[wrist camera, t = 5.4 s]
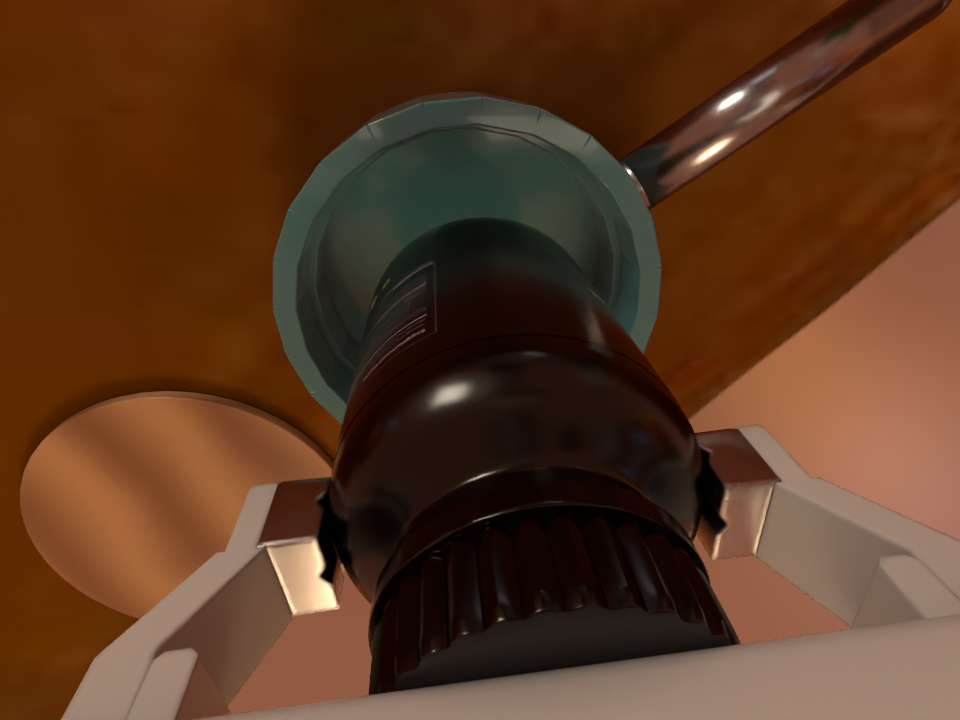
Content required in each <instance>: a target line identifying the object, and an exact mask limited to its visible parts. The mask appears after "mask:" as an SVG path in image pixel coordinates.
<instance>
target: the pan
mask: <svg viewBox="0 0 960 720" xmlns="http://www.w3.org/2000/svg"><path fill="white" fill-rule="evenodd" d="M474 217H494V218H503V219H508V220H513V221H517V222H520V223H523V224H526V225H528V226H531V227H533V228H535V229H537V230H539V231H541V232H543V233H544V234H546V235H547V236H549V237H550V238H552V239H553V240H554V241H555V242H557V243H558V244H559V245H560V246H561V247H563V248H564V249H565V250H566V252H567V253H568V254H569V255H570V256H571V257H572V258H573V260H574V261H575V262H576V263H577V264H578V266H579V267H580V268H581V270H582V271H583V272H584V273H585V275H586V276H587V277H588V279H589V280H590V282H591V283H592V284H593V286H594V287H595V288H596V290H597V291H598V293H599V294H600V295H601V297H602V298H603V300H604V301H605V302H606V304H607V305H608V306H609V308H610V309H611V311H612V312H613V313H614V315H615V316H616V317H617V319H618V320H619V322H620V323H621V324H622V326H623V327H624V328H625V330H626V331H627V333H628V334H629V335H630V337H631V338H632V339H633V341H634V342H635V344H636V345H637V346H638V348H639V349H640V350H641V352H642V353H643V354H644V351H645V348H646V346H647V343H648V340H649V337H650V335H651V332H652V329H653V326H654V324H655V321H656V318H657V315H658V313H657V312H658V308H659V297H660V285H661V273H662V267H661V266H662V262H661V257H660V252H659V246H658V241H657V236H656V231H655V226H654V221H653V217H652V215H651V213H650V211H649V209H648V208H647V206H646V204H645V202H644V200H643V198H642V196H641V194H640V192H639V190H638V188H637V186H636V185H635V183H634V181H633V179H632V177H631V175H630V174H629V173H628V171H627V170H626V169H625V168H624V167H623V166H622V165H621V164H620V163H619V162H618V161H617V160H616V159H615V158H614V157H613V156H612V155H611V154H610V153H609V152H608V151H607V150H606V149H605V148H604V147H603V146H602V145H601V144H600V143H599V142H598V141H597V140H596V139H595V138H594V137H593V136H591V135H590V134H589V133H587V132H585V131H584V130H582V129H580V128H578V127H576V126H574V125H572V124H571V123H569V122H567V121H565V120H563V119H561V118H559V117H558V116H556V115H554V114H552V113H550V112H548V111H546V110H545V109H542V108H539V107H537V106H534V105H531V104H528V103H525V102H523V101H520V100H516V99H511V98H506V97H501V96H496V95H492V94H487V93H482V92H477V91H472V92H471V91H462V92H451V93H441V94H430V95H424V96H423V97H422V96H419V97H417V98H414V99H412V100H409V101H407V102H404V103H402V104H400V105H397V106H395V107H392V108H390V109H387V110H385V111H382V112H380V113H378V114H377V115H374V116H373V117H372V118H371V119H369V120H368V121H367V122H366V123H364V124H363V125H362V126H361V127H360V128H358V129H357V130H356V131H355V132H353V133H352V134H351V135H350V136H348V137H347V138H346V139H345V140H343V141H342V142H341V143H340V144H339V145H338V146H337V147H335V148H334V149H333V150H332V151H331V152H330V153H329V154H328V155H327V156H326V157H325V158H324V159H323V160H322V161H321V162H320V163H319V164H318V166H317V167H316V169H315V170H314V171H313V173H312V174H311V176H310V177H309V179H308V180H307V182H306V183H305V185H304V186H303V188H302V189H301V190H300V192H299V193H298V195H297V196H296V198H295V199H294V201H293V202H292V204H291V205H290V208H289V209H288V211H287V215H286V218H285V221H284V224H283V227H282V231H281V234H280V237H279V240H278V243H277V247H276V250H275V253H274V256H273V258H274V259H273V308H274V309H273V312H274V315H275V319H276V322H277V326H278V329H279V333H280V336H281V340H282V343H283V347H284V350H285V353H286V354H287V357H288V359H289V361H290V362H291V364H292V366H293V367H294V369H295V370H296V372H297V374H298V375H299V377H300V379H301V380H302V382H303V383H304V385H305V387H306V388H307V390H308V392H309V393H310V394H311V396H312V397H313V398H314V399H315V400H316V401H317V402H318V403H320V404H321V405H322V406H323V407H324V408H325V409H326V410H327V411H328V412H329V413H330V414H331V415H332V416H333V417H334V418H335V419H336V420H337V421H338V422H339V423H340V424H343V420H344V415H345V411H346V407H347V402H348V398H349V394H350V389H351V385H352V381H353V377H354V372H355V368H356V364H357V359H358V355H359V351H360V347H361V342H362V338H363V334H364V329H365V325H366V321H367V316H368V312H369V309H370V305H371V302H372V298H373V295H374V292H375V289H376V287H377V285H378V283H379V281H380V279H381V277H382V275H383V273H384V272H385V270H386V268H387V267H388V266H389V264H390V263H391V262H392V260H393V259H394V258H395V257H396V256H397V255H398V253H399V252H400V251H401V250H402V249H403V248H405V247H406V246H407V245H408V244H409V243H410V242H412V241H413V240H415V239H416V238H417V237H419V236H420V235H422V234H424V233H426V232H427V231H429V230H431V229H433V228H436V227H438V226H440V225H443V224H446V223H449V222H452V221H456V220H461V219H467V218H474Z"/></svg>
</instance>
